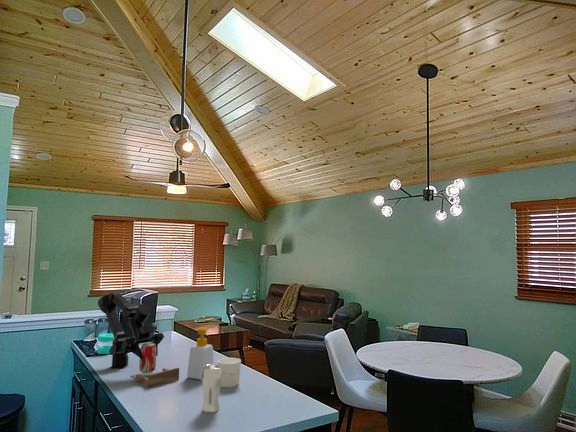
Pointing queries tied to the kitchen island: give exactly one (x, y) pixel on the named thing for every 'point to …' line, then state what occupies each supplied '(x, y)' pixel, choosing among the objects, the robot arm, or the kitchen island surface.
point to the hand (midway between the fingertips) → (149, 356)
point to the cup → (229, 371)
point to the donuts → (105, 338)
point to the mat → (142, 374)
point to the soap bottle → (200, 355)
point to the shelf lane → (159, 378)
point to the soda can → (148, 358)
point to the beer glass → (211, 387)
